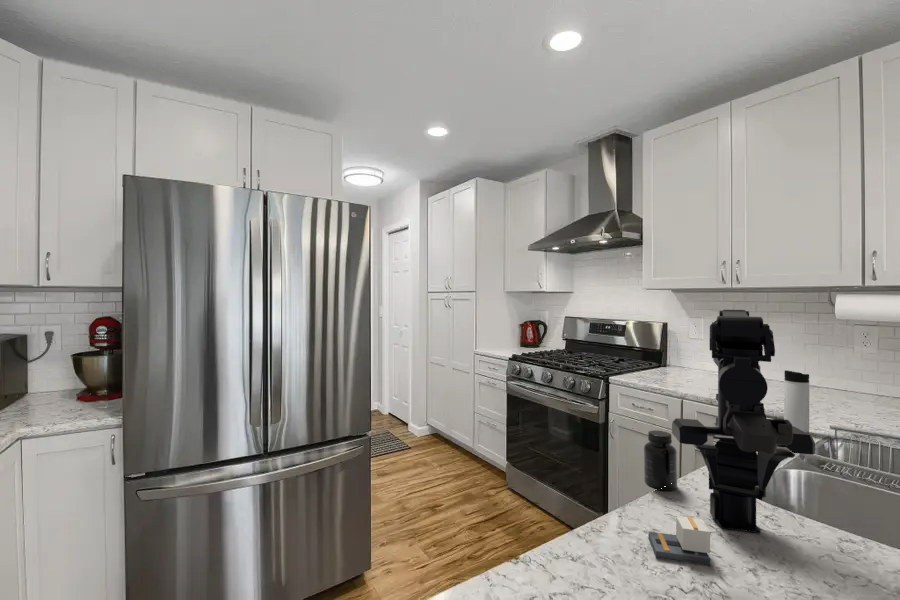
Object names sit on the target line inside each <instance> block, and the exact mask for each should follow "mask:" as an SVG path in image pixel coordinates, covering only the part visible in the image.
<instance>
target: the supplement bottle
mask: <svg viewBox="0 0 900 600" xmlns="http://www.w3.org/2000/svg"><path fill="white" fill-rule="evenodd" d="M647 432H648V435H647V442H646V443H645V444H644V446H643V479H644V483H645V485H647V487H648V488H650V489H651V488H652V489H654V490H658V489H660V490H658V491H662V492H671V491H674V490H676V489H677V487H678V456H677V454H678V452H677V449H676V447H674V446H673V445H672V443H673V441H672V433H669V432H668V431H663V430H658V429H655V430H649V431H647ZM671 483H672V484H671ZM664 486H666V487H664ZM661 488H662V489H661Z"/></svg>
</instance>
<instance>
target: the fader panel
mask: <svg viewBox="0 0 900 600" xmlns="http://www.w3.org/2000/svg"><path fill="white" fill-rule="evenodd" d="M648 541H649V543H650V546H651V549H652V551H653V555H654V557H655V559H660V560H667V561H673V562H679V563H680V562H681V563H686V564H687V563H688V564H692V565H700V566H707V567H711V557H710V555H709V553H704V552H696V551H689V550H683V549H682V547H681V545H680V543H679V541H678V539H677V537H676V534H671V533H663V532H655V531H648Z"/></svg>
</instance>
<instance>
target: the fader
mask: <svg viewBox="0 0 900 600" xmlns="http://www.w3.org/2000/svg"><path fill="white" fill-rule="evenodd" d="M675 518H676V519H675V520H676V521H675V523H676V524H675V525H676V526H675V529H676V530H675V535H676V537H677V539H678V541H679V543H680V545H681V547H682V549H683V550H689V551H696V552H704V553H707V554H711V531H710V529H709V528H708V526H707V525H706V523H705V522H704V520H703V519H701V518H693V517H692V516H686V517H685V516H676V517H675Z"/></svg>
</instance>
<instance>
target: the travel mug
mask: <svg viewBox="0 0 900 600" xmlns="http://www.w3.org/2000/svg"><path fill="white" fill-rule="evenodd" d="M783 375H784V379H783V380H784V383H783V384H784V385H783V390H784V391H783V393H784V394H783V396H784V397H783V419H784V420H789V422H790V423H791V424H792V426H794V427H796V428H798V429H800V430H802V431H803V432H805V433H807V434H809V435H810V374H809V373H802V372H797V371H792V370H787V369H786V370H784V374H783Z"/></svg>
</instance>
